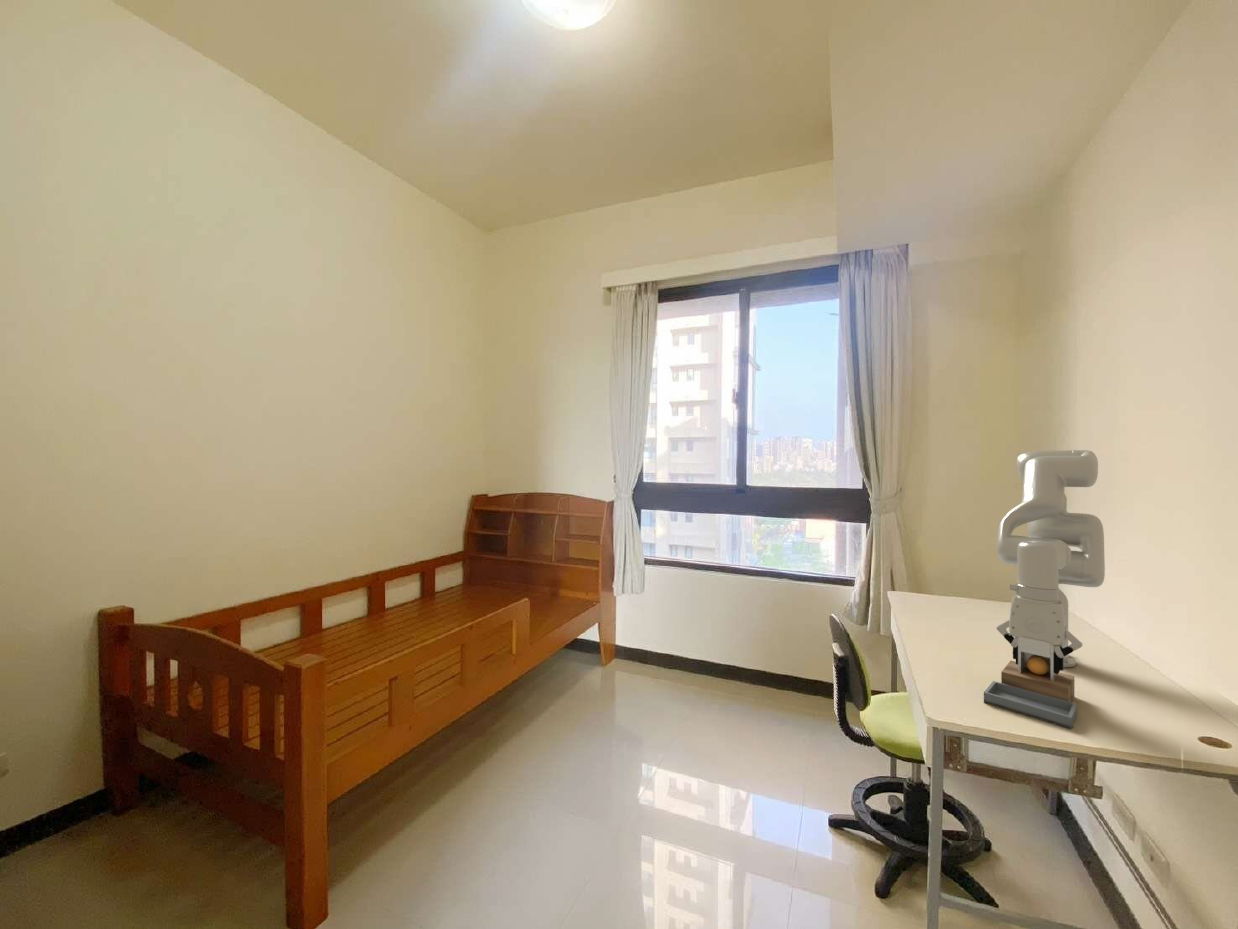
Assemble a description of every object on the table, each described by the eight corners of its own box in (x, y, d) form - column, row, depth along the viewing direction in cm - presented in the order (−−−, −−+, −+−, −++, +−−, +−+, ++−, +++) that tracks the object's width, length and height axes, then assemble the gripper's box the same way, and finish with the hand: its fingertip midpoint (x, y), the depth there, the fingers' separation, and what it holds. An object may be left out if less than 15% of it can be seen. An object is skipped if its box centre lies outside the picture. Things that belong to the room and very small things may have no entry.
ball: (1028, 668, 119) (1028, 652, 119) (1049, 674, 116) (1049, 657, 116) (1025, 673, 116) (1025, 657, 116) (1047, 679, 113) (1047, 662, 113)
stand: (1010, 680, 124) (1010, 660, 124) (1074, 697, 115) (1074, 676, 115) (1001, 692, 117) (1001, 671, 117) (1068, 711, 108) (1068, 689, 108)
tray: (993, 690, 118) (993, 680, 118) (1077, 714, 107) (1077, 703, 107) (983, 702, 112) (983, 692, 112) (1071, 729, 101) (1071, 717, 101)
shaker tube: (1023, 665, 121) (1023, 630, 121) (1057, 674, 116) (1057, 637, 116) (1017, 673, 117) (1017, 636, 116) (1053, 682, 112) (1052, 643, 112)
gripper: (989, 589, 120) (989, 660, 120) (1085, 604, 107) (1085, 684, 107) (996, 584, 125) (996, 653, 125) (1089, 597, 112) (1089, 674, 112)
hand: (1037, 666), depth 116 cm, fingers closed on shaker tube, 6 cm apart
